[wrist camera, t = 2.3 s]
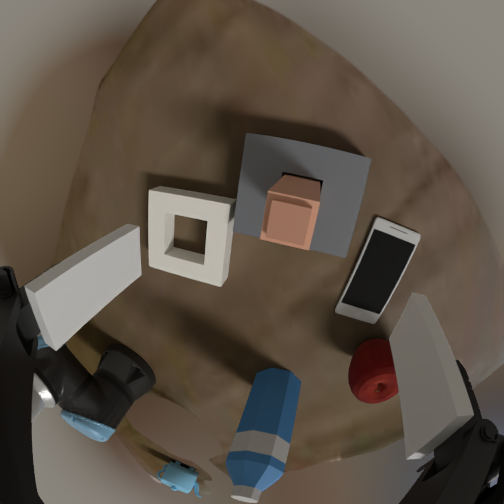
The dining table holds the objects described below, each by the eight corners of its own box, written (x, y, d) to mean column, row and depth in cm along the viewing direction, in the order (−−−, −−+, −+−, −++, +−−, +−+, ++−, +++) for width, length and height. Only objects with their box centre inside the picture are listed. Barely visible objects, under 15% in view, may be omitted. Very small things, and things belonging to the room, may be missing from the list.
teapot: (164, 460, 91) (153, 482, 78) (165, 455, 86) (153, 478, 73) (208, 479, 89) (199, 501, 77) (213, 475, 84) (203, 499, 72)
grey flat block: (241, 222, 37) (232, 231, 33) (254, 133, 32) (246, 132, 28) (343, 245, 35) (345, 257, 31) (365, 156, 29) (371, 158, 26)
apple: (411, 333, 37) (424, 378, 28) (383, 371, 41) (388, 415, 32) (363, 319, 38) (369, 366, 29) (337, 360, 42) (336, 406, 33)
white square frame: (158, 258, 43) (149, 266, 40) (160, 185, 38) (148, 189, 35) (227, 277, 41) (220, 287, 38) (237, 199, 36) (230, 204, 33)
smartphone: (333, 309, 39) (333, 312, 38) (375, 214, 32) (376, 217, 31) (374, 321, 38) (375, 325, 38) (419, 233, 32) (421, 235, 31)
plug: (283, 201, 34) (258, 241, 21) (288, 170, 33) (266, 192, 20) (313, 208, 34) (308, 253, 21) (320, 177, 32) (320, 203, 19)
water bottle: (247, 368, 48) (202, 484, 26) (296, 365, 45) (267, 495, 23) (261, 397, 51) (226, 501, 29) (305, 395, 48) (283, 509, 26)
